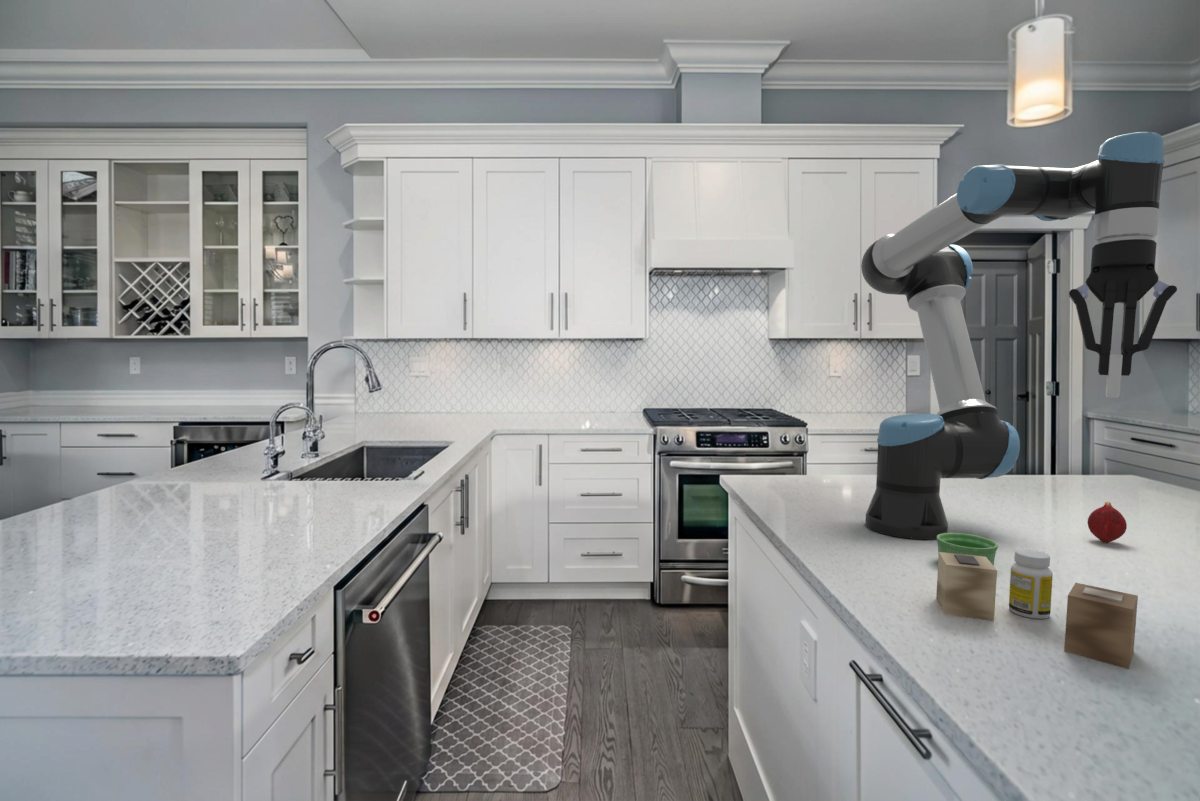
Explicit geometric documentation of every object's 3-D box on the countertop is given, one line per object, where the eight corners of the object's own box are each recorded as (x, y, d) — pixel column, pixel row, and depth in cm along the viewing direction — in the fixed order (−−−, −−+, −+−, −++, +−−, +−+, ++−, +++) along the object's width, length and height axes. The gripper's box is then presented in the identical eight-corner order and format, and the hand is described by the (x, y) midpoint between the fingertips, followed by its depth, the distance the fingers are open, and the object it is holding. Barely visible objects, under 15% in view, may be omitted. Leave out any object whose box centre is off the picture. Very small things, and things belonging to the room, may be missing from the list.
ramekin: (925, 563, 108) (927, 538, 107) (949, 553, 113) (951, 529, 113) (982, 578, 101) (984, 551, 100) (1005, 567, 106) (1007, 542, 106)
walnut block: (1063, 651, 76) (1068, 593, 75) (1071, 636, 80) (1075, 581, 79) (1128, 669, 71) (1133, 607, 71) (1133, 652, 76) (1138, 594, 75)
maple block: (943, 614, 86) (946, 563, 86) (936, 598, 92) (938, 550, 91) (994, 621, 84) (997, 568, 84) (983, 604, 90) (986, 555, 89)
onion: (1132, 548, 117) (1135, 506, 116) (1097, 546, 118) (1100, 504, 118) (1113, 539, 123) (1116, 499, 122) (1080, 537, 124) (1082, 497, 123)
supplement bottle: (1043, 608, 88) (1047, 550, 88) (1055, 622, 84) (1059, 560, 83) (1004, 603, 90) (1007, 546, 89) (1013, 616, 86) (1017, 556, 85)
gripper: (1176, 241, 95) (1164, 397, 96) (1069, 248, 102) (1059, 393, 104) (1187, 233, 88) (1173, 400, 90) (1071, 241, 96) (1060, 396, 98)
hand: (1112, 396), depth 97 cm, fingers closed
